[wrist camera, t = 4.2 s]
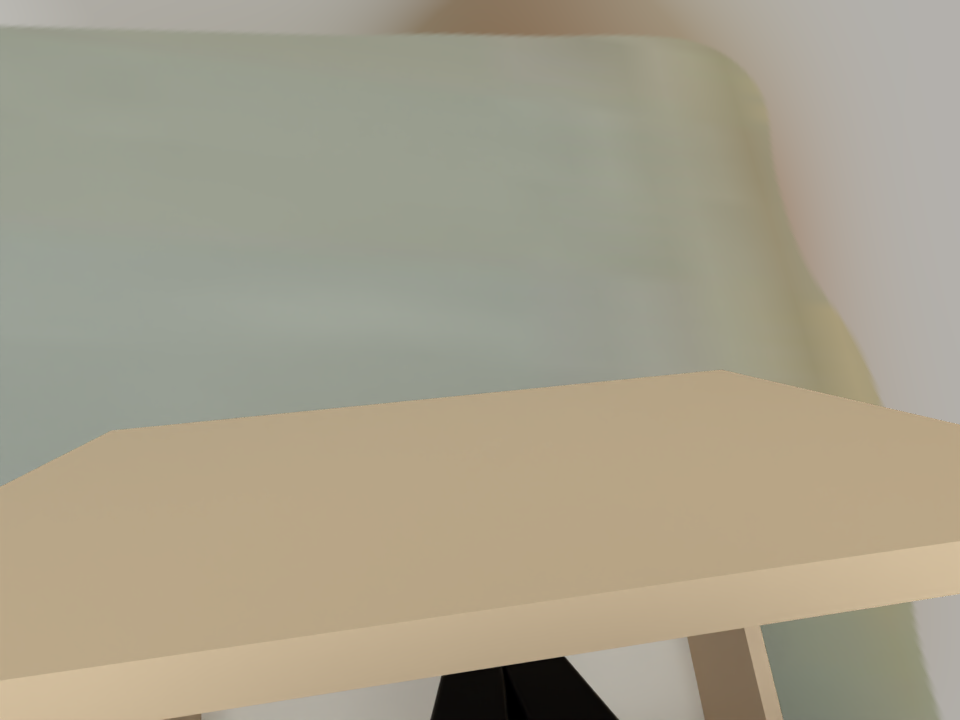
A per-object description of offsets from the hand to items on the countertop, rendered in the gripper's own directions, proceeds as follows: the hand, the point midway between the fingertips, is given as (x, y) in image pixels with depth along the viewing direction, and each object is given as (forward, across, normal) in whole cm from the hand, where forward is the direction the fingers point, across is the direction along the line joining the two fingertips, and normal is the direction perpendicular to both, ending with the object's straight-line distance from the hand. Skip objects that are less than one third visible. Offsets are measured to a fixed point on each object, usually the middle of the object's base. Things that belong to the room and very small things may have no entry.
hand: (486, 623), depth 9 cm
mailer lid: (+2, 0, -1) cm, 2 cm away
